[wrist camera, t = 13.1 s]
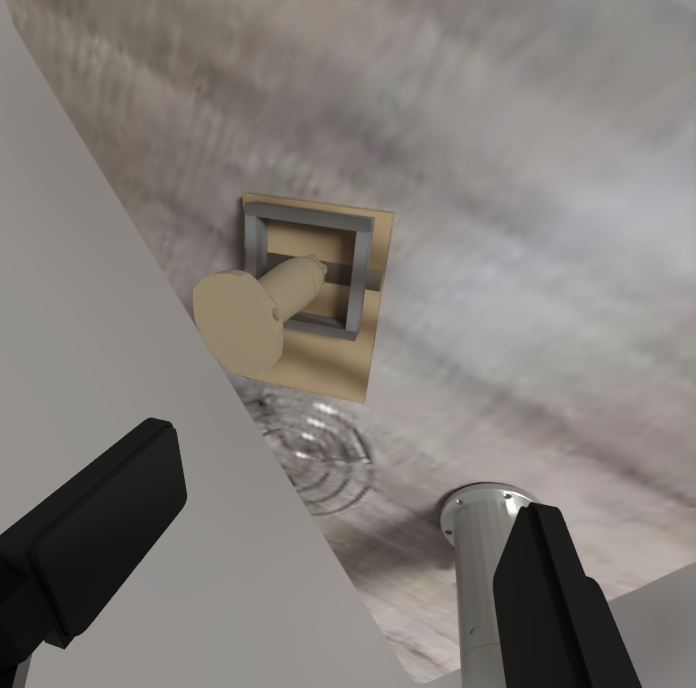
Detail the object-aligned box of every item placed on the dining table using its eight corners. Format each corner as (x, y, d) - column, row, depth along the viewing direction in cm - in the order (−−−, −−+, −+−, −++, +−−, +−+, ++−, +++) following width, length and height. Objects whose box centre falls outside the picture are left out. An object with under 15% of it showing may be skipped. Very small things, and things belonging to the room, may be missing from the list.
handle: (301, 307, 36) (222, 381, 22) (279, 244, 34) (177, 285, 20) (345, 296, 34) (289, 369, 21) (325, 230, 32) (248, 264, 19)
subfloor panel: (365, 396, 40) (359, 416, 37) (252, 371, 43) (236, 388, 39) (394, 212, 32) (389, 216, 28) (250, 192, 34) (228, 194, 30)
